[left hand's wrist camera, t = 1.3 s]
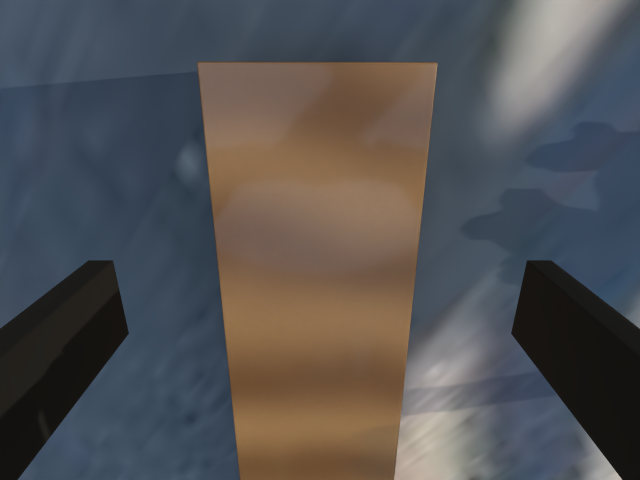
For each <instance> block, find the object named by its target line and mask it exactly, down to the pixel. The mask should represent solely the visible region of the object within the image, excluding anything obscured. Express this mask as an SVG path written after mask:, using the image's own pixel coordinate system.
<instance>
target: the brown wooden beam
mask: <svg viewBox="0 0 640 480" xmlns="http://www.w3.org/2000/svg"><path fill="white" fill-rule="evenodd" d="M197 67H198V77H199V87H200V96H201V106H202V116H203V125H204V135H205V145H206V154H207V164H208V174H209V184H210V193H211V203H212V213H213V222H214V232H215V242H216V251H217V261H218V271H219V280H220V290H221V300H222V309H223V319H224V329H225V338H226V348H227V358H228V367H229V377H230V387H231V396H232V406H233V416H234V426H235V435H236V445H237V455H238V464H239V474H240V480H394V474H395V465H396V455H397V445H398V436H399V426H400V417H401V407H402V397H403V388H404V378H405V369H406V359H407V350H408V340H409V330H410V321H411V311H412V302H413V292H414V283H415V273H416V263H417V254H418V244H419V235H420V225H421V215H422V206H423V196H424V187H425V177H426V168H427V158H428V148H429V139H430V129H431V120H432V110H433V100H434V91H435V81H436V72H437V63H436V62H197Z"/></svg>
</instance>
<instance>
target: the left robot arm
mask: <svg viewBox="0 0 640 480" xmlns="http://www.w3.org/2000/svg"><path fill="white" fill-rule="evenodd" d="M128 334H129V333H128V328H127V323H126V319H125V314H124V310H123V305H122V300H121V296H120V291H119V287H118V282H117V277H116V273H115V268H114V263H113V261H87V262H86V263H85V264H84V265H82V266H81V267H80V268H78V269H77V270H76V271H75V272H73V273H72V274H71V275H69V276H68V277H67V278H65V279H64V280H63V281H62V282H60V283H59V284H58V285H56V286H55V287H54V288H53V289H51V290H50V291H49V292H47V293H46V294H45V295H43V296H42V297H41V298H40V299H38V300H37V301H36V302H34V303H33V304H32V305H30V306H29V307H28V308H27V309H25V310H24V311H23V312H21V313H20V314H19V315H18V316H16V317H15V318H14V319H12V320H11V321H10V322H8V323H7V324H6V325H5V326H3V327H2V328H1V329H0V480H18V478H19V477H20V476H21V475H22V473H23V472H24V471H25V469H26V468H27V467H28V465H29V464H30V463H31V461H32V460H33V459H34V457H35V456H36V455H37V453H38V452H39V451H40V450H41V448H42V447H43V446H44V444H45V443H46V442H47V440H48V439H49V438H50V436H51V435H52V434H53V432H54V431H55V430H56V428H57V427H58V426H59V425H60V423H61V422H62V421H63V419H64V418H65V417H66V415H67V414H68V413H69V411H70V410H71V409H72V407H73V406H74V405H75V403H76V402H77V401H78V400H79V398H80V397H81V396H82V394H83V393H84V392H85V390H86V389H87V388H88V386H89V385H90V384H91V382H92V381H93V380H94V379H95V377H96V376H97V375H98V373H99V372H100V371H101V369H102V368H103V367H104V365H105V364H106V363H107V361H108V360H109V359H110V357H111V356H112V355H113V354H114V352H115V351H116V350H117V348H118V347H119V346H120V344H121V343H122V342H123V340H124V339H125V338H126V336H127V335H128ZM511 334H512V335H513V336H514V338H515V339H516V340H517V342H518V343H519V344H520V346H521V347H522V348H523V350H524V351H525V352H526V354H527V355H528V356H529V357H530V359H531V360H532V361H533V363H534V364H535V365H536V367H537V368H538V369H539V371H540V372H541V373H542V375H543V376H544V377H545V379H546V380H547V381H548V382H549V384H550V385H551V386H552V388H553V389H554V390H555V392H556V393H557V394H558V396H559V397H560V398H561V400H562V401H563V402H564V403H565V405H566V406H567V407H568V409H569V410H570V411H571V413H572V414H573V415H574V417H575V418H576V419H577V421H578V422H579V423H580V425H581V426H582V427H583V428H584V430H585V431H586V432H587V434H588V435H589V436H590V438H591V439H592V440H593V442H594V443H595V444H596V446H597V447H598V448H599V450H600V451H601V452H602V453H603V455H604V456H605V457H606V459H607V460H608V461H609V463H610V464H611V465H612V467H613V468H614V469H615V471H616V472H617V473H618V475H619V476H620V477H621V478H622V480H640V329H639V328H638V327H637V326H635V325H634V324H633V323H632V322H630V321H629V320H628V319H626V318H625V317H624V316H622V315H621V314H620V313H619V312H617V311H616V310H615V309H613V308H612V307H611V306H610V305H608V304H607V303H606V302H604V301H603V300H602V299H600V298H599V297H598V296H597V295H595V294H594V293H593V292H591V291H590V290H589V289H587V288H586V287H585V286H584V285H582V284H581V283H580V282H578V281H577V280H576V279H575V278H573V277H572V276H571V275H569V274H568V273H567V272H565V271H564V270H563V269H562V268H560V267H559V266H558V265H556V264H555V263H554V262H553V261H527V263H526V268H525V273H524V277H523V282H522V287H521V291H520V296H519V300H518V305H517V310H516V314H515V319H514V323H513V328H512V333H511Z"/></svg>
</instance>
